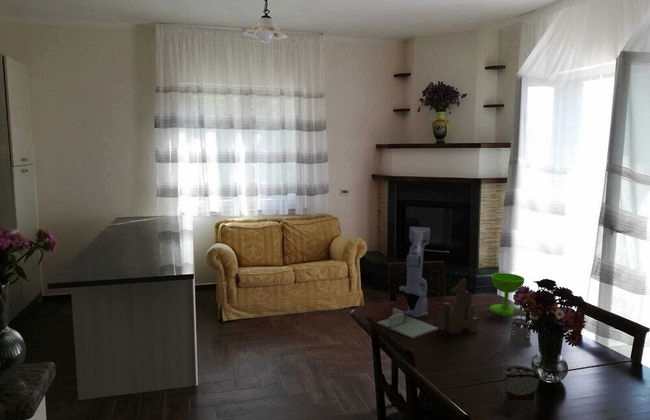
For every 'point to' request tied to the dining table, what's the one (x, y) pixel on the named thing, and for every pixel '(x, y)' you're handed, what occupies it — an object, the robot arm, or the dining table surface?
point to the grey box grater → (520, 331)
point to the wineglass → (507, 285)
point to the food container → (520, 384)
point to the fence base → (396, 311)
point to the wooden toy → (459, 311)
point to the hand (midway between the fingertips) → (411, 309)
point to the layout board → (410, 327)
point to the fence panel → (396, 319)
